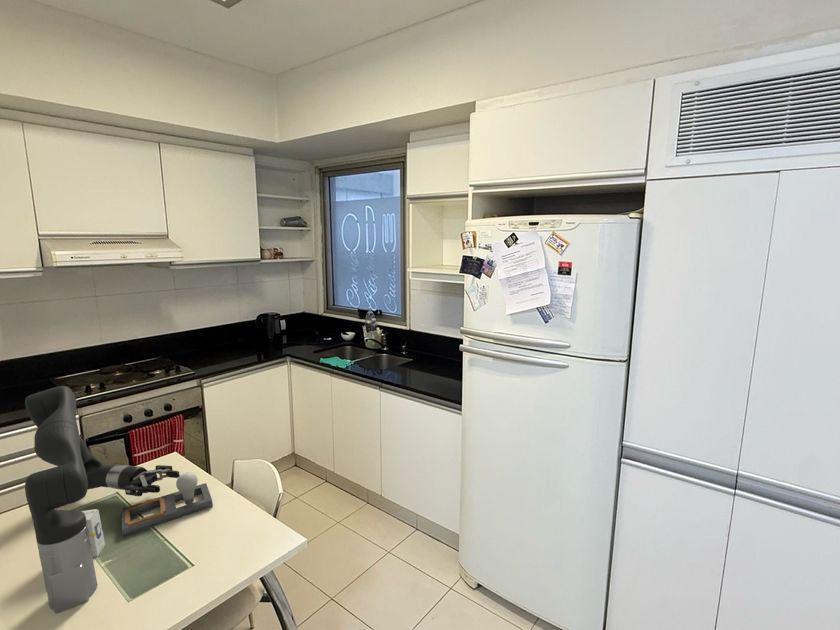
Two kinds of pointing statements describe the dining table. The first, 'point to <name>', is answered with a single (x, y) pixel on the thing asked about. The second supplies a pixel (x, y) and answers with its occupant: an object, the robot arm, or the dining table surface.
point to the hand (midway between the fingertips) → (169, 481)
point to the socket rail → (163, 510)
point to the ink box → (94, 531)
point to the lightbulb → (187, 486)
